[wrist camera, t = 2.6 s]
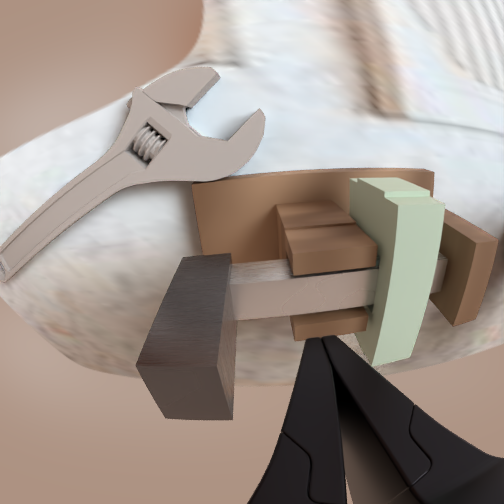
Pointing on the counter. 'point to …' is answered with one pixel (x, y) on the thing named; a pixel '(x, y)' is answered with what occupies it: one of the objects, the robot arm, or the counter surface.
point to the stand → (331, 237)
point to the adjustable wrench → (140, 160)
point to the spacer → (397, 261)
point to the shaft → (233, 323)
